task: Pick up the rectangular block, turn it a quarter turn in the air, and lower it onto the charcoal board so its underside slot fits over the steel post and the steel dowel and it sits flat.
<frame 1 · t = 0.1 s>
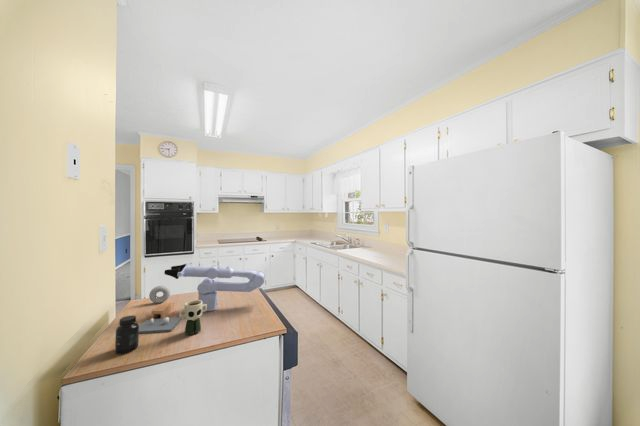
hand: (168, 270, 123), 22 cm above the counter, tool horizontal, fingers open, 7 cm apart
rectangular block: (162, 314, 118), on the counter
donut: (159, 303, 133), on the counter
supplement bottle: (127, 350, 88), on the counter
character mug: (192, 332, 102), on the counter
post board: (159, 326, 106), on the counter
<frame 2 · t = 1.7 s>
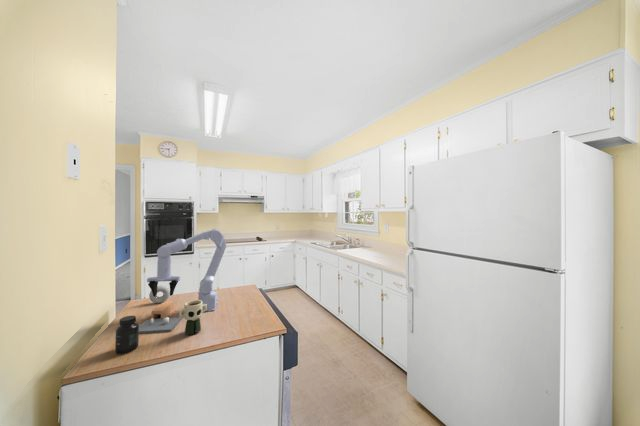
hand: (163, 295, 118), 10 cm above the counter, tool pointing down, fingers open, 7 cm apart
nothing on the counter moved.
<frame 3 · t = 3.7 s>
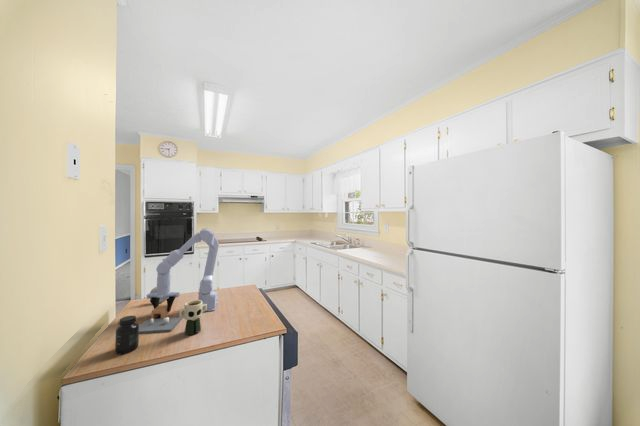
hand: (162, 311, 118), 2 cm above the counter, tool pointing down, fingers closed on rectangular block, 5 cm apart
rectangular block: (162, 314, 118), on the counter, touching gripper
everything else where it was.
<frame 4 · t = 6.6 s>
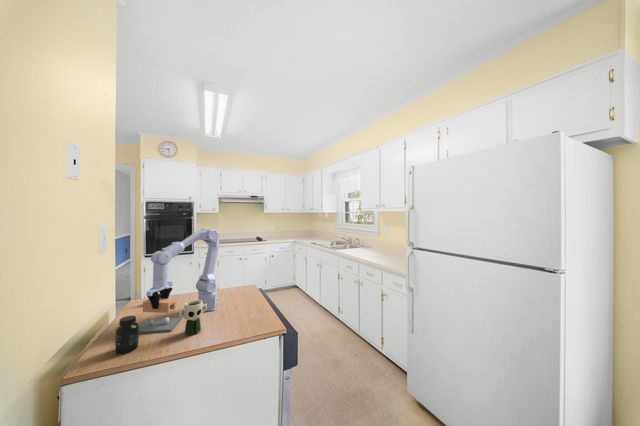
hand: (159, 306, 107), 9 cm above the counter, tool pointing down, fingers closed on rectangular block, 5 cm apart
rectangular block: (159, 310, 107), point 7 cm above the counter, touching gripper
everything else where it was.
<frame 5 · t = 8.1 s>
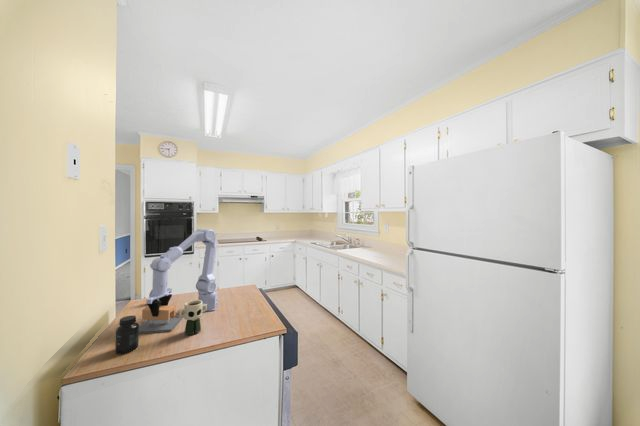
hand: (159, 313, 106), 6 cm above the counter, tool pointing down, fingers closed on rectangular block, 5 cm apart
rectangular block: (159, 317, 106), point 4 cm above the counter, touching gripper
everything else where it was.
when the fingers open (3 cm above the counter, at t = 9.5 s): rectangular block stays where it is, resting on post board.
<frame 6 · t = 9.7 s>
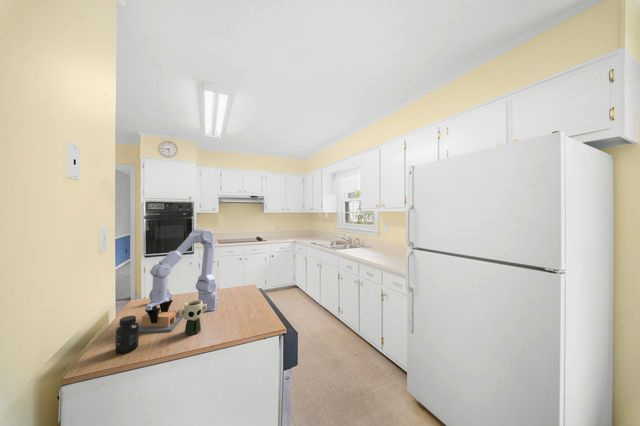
hand: (159, 319, 106), 3 cm above the counter, tool pointing down, fingers open, 6 cm apart
rectangular block: (158, 324, 106), point 1 cm above the counter, touching post board
everything else where it was.
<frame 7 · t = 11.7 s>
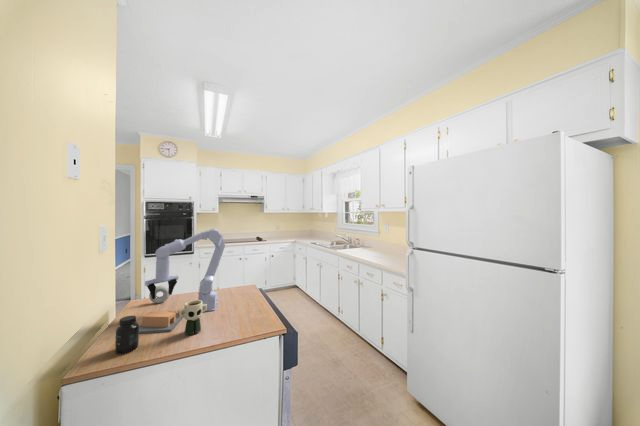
hand: (161, 296, 118), 9 cm above the counter, tool pointing down, fingers open, 7 cm apart
nothing on the counter moved.
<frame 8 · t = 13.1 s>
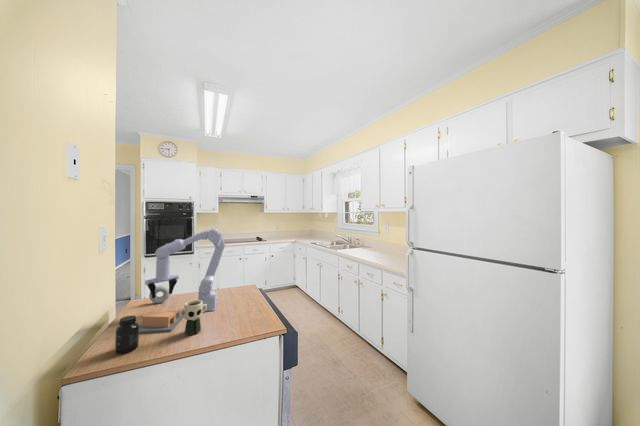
hand: (162, 295, 119), 9 cm above the counter, tool pointing down, fingers open, 7 cm apart
nothing on the counter moved.
at the end: rectangular block 0.1 cm off-centre on the post board, point 1.0 cm above the post board's base; rectangular block tilted 0°; the gripper is holding nothing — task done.
